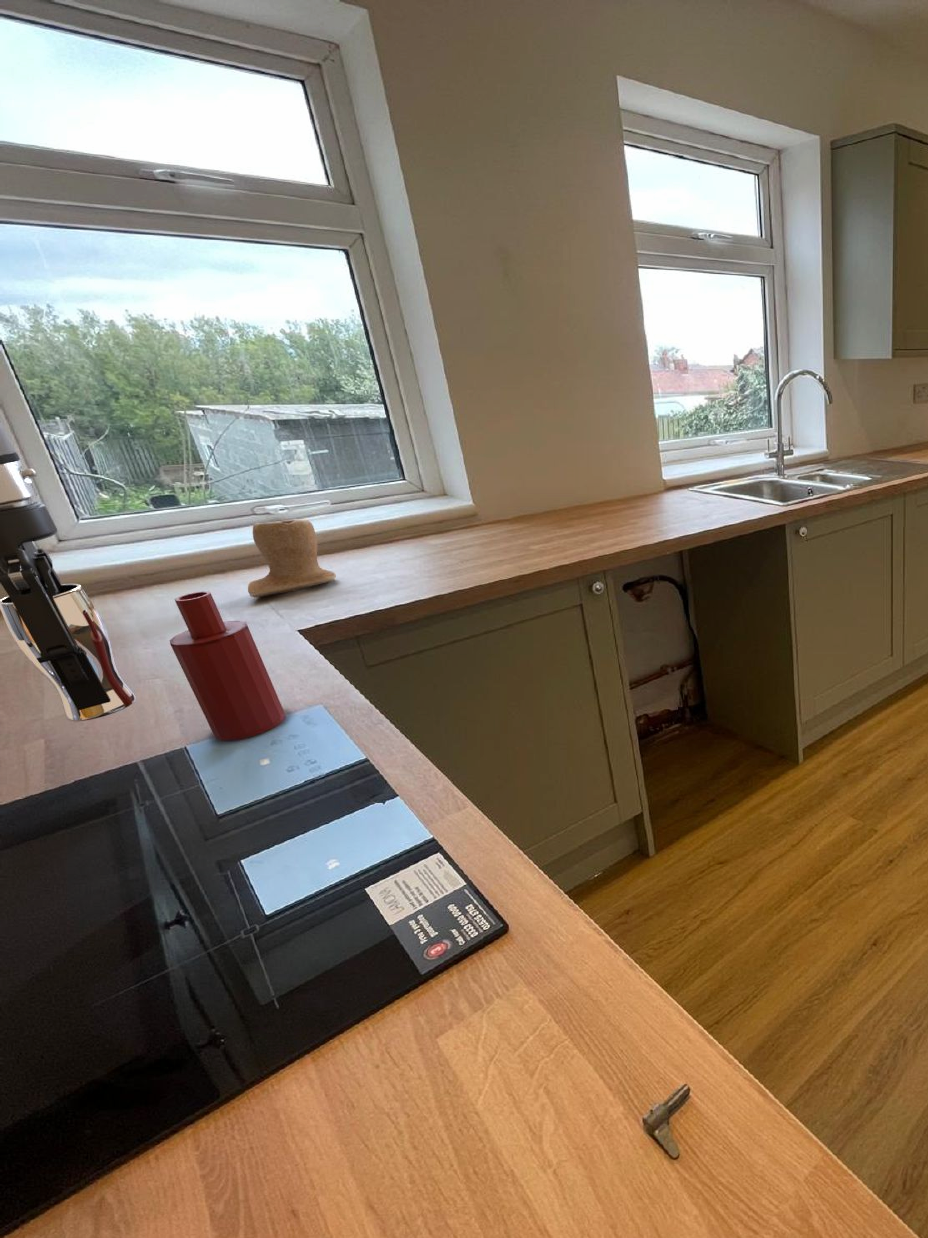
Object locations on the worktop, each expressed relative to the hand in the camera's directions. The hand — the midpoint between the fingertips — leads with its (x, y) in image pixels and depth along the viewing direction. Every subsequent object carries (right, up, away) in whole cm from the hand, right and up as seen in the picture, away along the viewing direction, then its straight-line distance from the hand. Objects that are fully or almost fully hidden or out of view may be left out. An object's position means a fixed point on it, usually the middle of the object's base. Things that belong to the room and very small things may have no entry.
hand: (95, 695), depth 81 cm
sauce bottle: (+9, -5, +11) cm, 15 cm away
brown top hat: (-29, +16, +66) cm, 74 cm away
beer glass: (0, -2, +1) cm, 2 cm away
